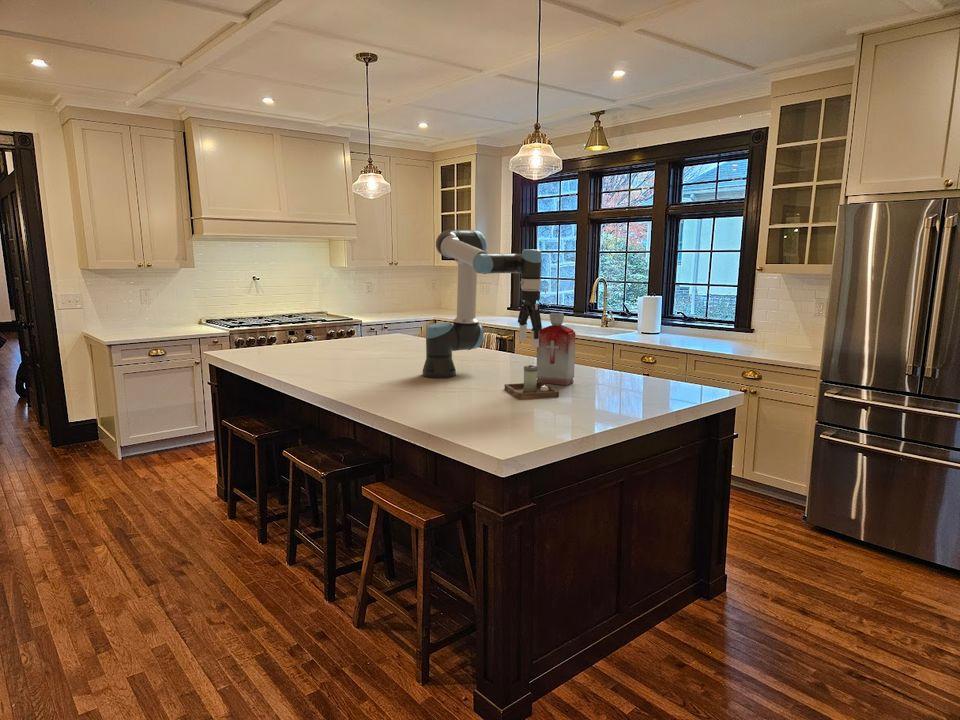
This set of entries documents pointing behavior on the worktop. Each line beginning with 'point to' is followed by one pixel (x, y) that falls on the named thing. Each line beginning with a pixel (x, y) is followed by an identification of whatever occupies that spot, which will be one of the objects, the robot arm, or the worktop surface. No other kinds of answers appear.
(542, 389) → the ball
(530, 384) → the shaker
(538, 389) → the tray
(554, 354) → the bottle
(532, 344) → the robot arm
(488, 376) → the worktop surface
